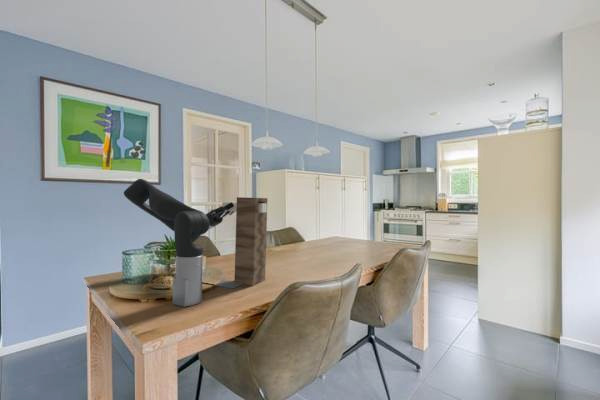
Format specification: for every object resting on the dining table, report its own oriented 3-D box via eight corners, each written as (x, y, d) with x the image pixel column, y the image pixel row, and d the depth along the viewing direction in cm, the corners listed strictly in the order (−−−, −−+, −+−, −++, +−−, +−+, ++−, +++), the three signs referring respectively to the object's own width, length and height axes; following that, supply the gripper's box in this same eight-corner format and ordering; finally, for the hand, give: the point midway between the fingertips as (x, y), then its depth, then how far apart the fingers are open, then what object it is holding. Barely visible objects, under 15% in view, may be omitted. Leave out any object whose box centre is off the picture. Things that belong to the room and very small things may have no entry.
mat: (232, 288, 117) (232, 287, 117) (187, 280, 127) (187, 279, 127) (242, 284, 124) (242, 283, 124) (198, 276, 134) (198, 275, 134)
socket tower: (253, 285, 122) (255, 198, 122) (234, 282, 126) (236, 197, 126) (265, 280, 131) (267, 198, 131) (247, 277, 135) (249, 197, 135)
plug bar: (262, 212, 124) (262, 203, 124) (222, 210, 133) (222, 202, 133) (266, 212, 127) (266, 203, 127) (227, 210, 136) (227, 202, 136)
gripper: (197, 213, 132) (223, 196, 126) (217, 212, 145) (241, 197, 139) (203, 228, 131) (229, 211, 125) (223, 225, 144) (247, 210, 138)
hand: (235, 204), depth 132 cm, fingers closed on plug bar, 4 cm apart
